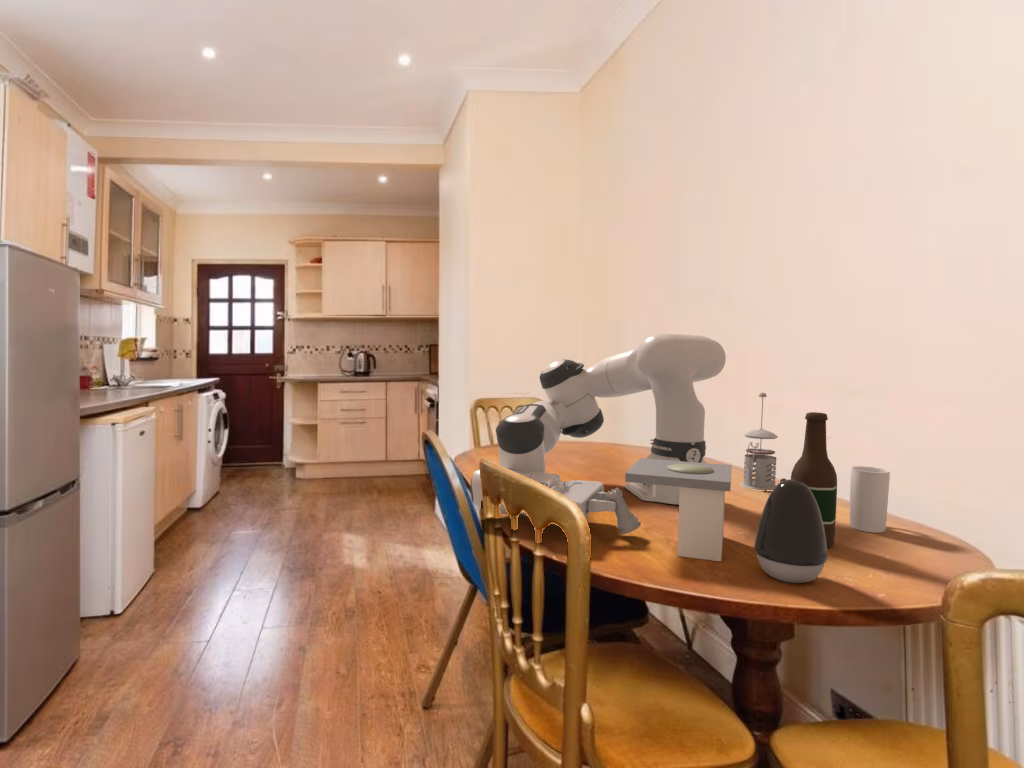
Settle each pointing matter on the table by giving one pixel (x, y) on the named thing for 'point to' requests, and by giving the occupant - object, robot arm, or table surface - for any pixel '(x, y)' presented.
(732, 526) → the table surface
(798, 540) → the dark grey egg speaker
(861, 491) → the mug
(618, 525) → the rook chess piece
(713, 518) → the grey pedestal stand
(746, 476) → the french press
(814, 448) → the beer bottle
